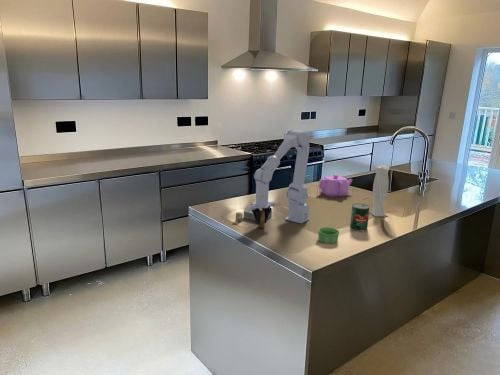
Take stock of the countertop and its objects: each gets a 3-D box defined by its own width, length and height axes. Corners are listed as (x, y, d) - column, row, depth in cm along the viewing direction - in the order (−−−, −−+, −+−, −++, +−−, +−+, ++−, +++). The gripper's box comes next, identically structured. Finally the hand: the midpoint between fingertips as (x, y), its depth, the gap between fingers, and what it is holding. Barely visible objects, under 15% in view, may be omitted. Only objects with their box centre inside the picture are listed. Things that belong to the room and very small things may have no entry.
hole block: (271, 217, 187) (271, 210, 186) (260, 222, 180) (260, 215, 179) (255, 212, 193) (255, 206, 192) (243, 217, 185) (243, 211, 184)
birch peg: (243, 220, 181) (243, 213, 180) (239, 222, 179) (239, 214, 178) (238, 219, 183) (238, 211, 182) (234, 221, 180) (234, 213, 179)
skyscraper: (389, 217, 191) (396, 164, 184) (374, 218, 190) (380, 164, 183) (381, 212, 199) (387, 161, 192) (366, 212, 198) (372, 161, 191)
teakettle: (316, 194, 230) (318, 175, 226) (325, 189, 244) (327, 170, 241) (343, 199, 221) (345, 179, 218) (351, 193, 236) (353, 174, 232)
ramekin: (318, 235, 166) (319, 226, 165) (339, 237, 163) (340, 228, 162) (316, 242, 158) (316, 233, 156) (337, 245, 155) (338, 236, 154)
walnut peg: (265, 227, 174) (266, 210, 172) (261, 228, 171) (262, 212, 169) (260, 225, 176) (260, 209, 173) (256, 227, 173) (256, 211, 171)
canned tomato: (357, 232, 171) (359, 209, 168) (346, 226, 177) (348, 204, 175) (370, 229, 174) (373, 207, 171) (359, 224, 181) (362, 202, 178)
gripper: (253, 199, 162) (253, 228, 166) (280, 195, 170) (278, 223, 174) (245, 195, 168) (244, 223, 171) (270, 191, 176) (269, 218, 179)
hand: (261, 223), depth 173 cm, fingers closed on walnut peg, 3 cm apart
